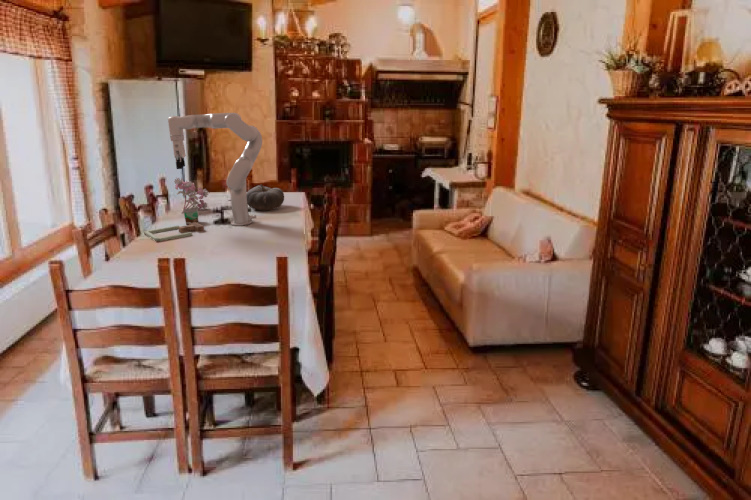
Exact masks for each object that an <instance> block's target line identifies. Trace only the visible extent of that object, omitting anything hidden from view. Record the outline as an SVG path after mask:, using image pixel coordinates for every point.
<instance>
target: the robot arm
mask: <svg viewBox="0 0 751 500" xmlns="http://www.w3.org/2000/svg"><path fill="white" fill-rule="evenodd" d="M167 123H168V130H169V139H170V141H171V142H172V148H173V155H174V158H175V166H176V170H183V167H185V166H186V163H185V157H186V149H185V144H184V141H185V136H184V135H185V134H184V133H185V132H184V130H191V129H197V128H198V129H199V128H200V129H201V128H209V129H214V130H215V129H216V130H217V129H229V130H230V131H231V132H233V133H234V134H235V135H236V136H238V137H239V138H240V139H241V140H243V141H245V142H247V143H246V145H245V147H244V149H243V151H242V153H241V155H240V156H239V157H238V159H236V161H234V164H233V166H232V168H231V170H230V171H229V173H228V176H227V178H226V186H227V187H228V189H229V192H230V202H231V203H230V204H231V214H232V220H231V221H230V225H231V226H235V227H236V226H239V227H240V226H248V225H251V224H252V222H253V220H252V219H257V215H256V214H255V215H252V214H249V205H248V204H247V192H248V191H247V177H248V176H249V174H250V172H251V170H252V169H253V166H254V164H255V162H256V160H257V158H258V155H259V153H260V152H261V149H262V146H263V138H262V137H263V136H262V134H261V132H260V130H259V129H258V127H256V126H254V125H249V124H247V123H246V122H245V121H244V120H243V119H242V117H241V115H240V114H239V113H237V112H219V113H218V112H217V113H207V114H189V115H188V114H187V115H185V116H178V115H172V116H168V118H167Z"/></svg>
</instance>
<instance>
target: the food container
mask: <svg viewBox="0 0 751 500" xmlns="http://www.w3.org/2000/svg"><path fill="white" fill-rule="evenodd" d="M187 208H188V207H187ZM199 208H200V207H198V206H197V204H196V205H192V206H191V207H190V208H188V209H183V213H182V214H183V215H184V220H185V224H186V225H185V226H187V225H189V223H193V222H196V223H198V224H199V210H200V209H199Z"/></svg>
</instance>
